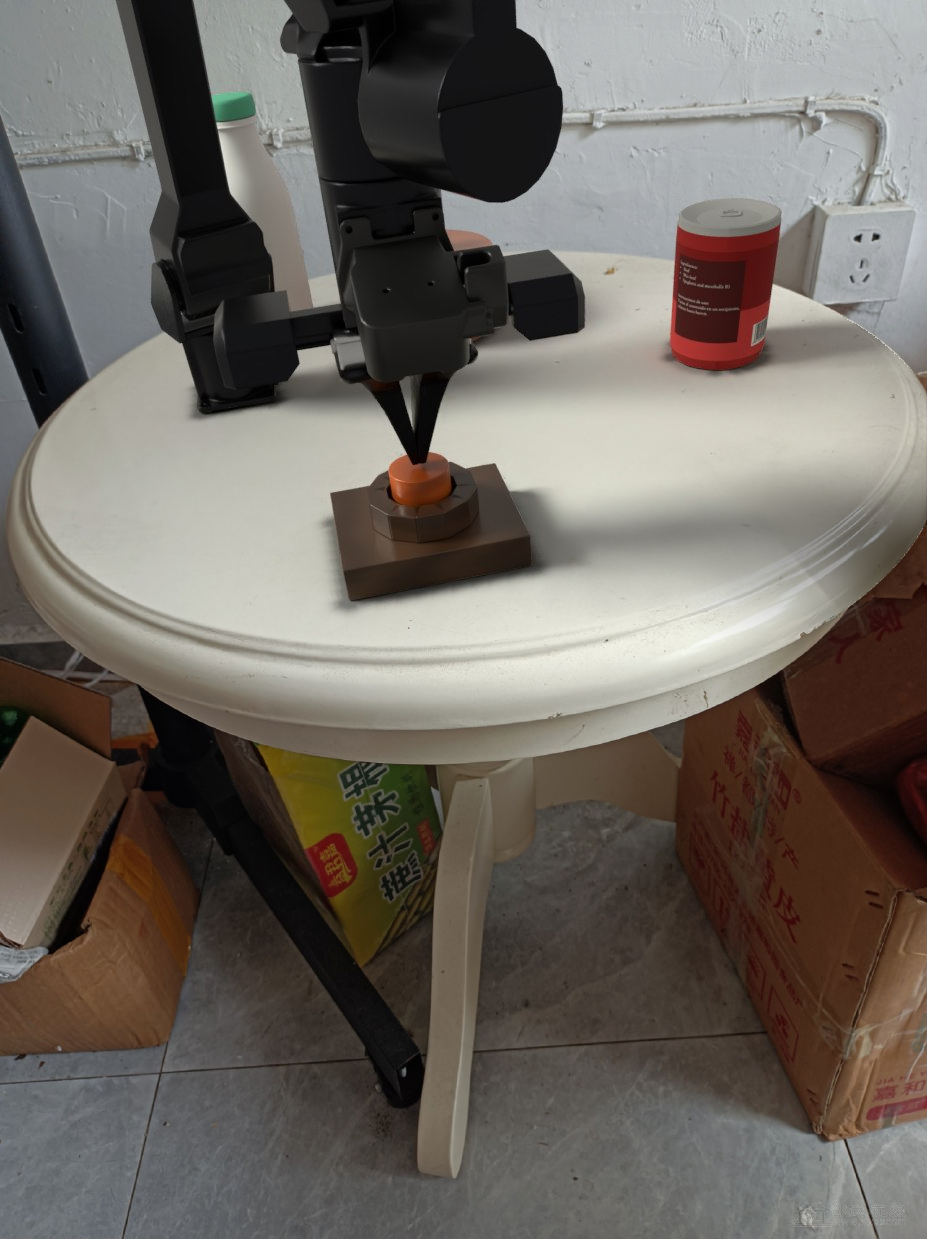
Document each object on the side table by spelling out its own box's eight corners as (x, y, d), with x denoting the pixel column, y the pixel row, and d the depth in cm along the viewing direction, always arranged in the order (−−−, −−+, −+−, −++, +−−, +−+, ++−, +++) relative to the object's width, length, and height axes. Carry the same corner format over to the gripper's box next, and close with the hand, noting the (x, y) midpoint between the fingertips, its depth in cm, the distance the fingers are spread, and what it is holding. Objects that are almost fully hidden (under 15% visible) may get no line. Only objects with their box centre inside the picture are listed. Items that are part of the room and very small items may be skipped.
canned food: (747, 329, 75) (764, 193, 68) (776, 366, 69) (798, 221, 62) (659, 338, 75) (667, 203, 69) (680, 376, 69) (691, 232, 62)
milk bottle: (324, 329, 84) (278, 93, 72) (246, 347, 83) (185, 108, 70) (306, 306, 90) (260, 83, 77) (233, 322, 88) (174, 97, 76)
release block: (349, 601, 50) (336, 544, 48) (335, 520, 57) (324, 467, 54) (532, 565, 51) (529, 508, 49) (497, 491, 58) (493, 437, 56)
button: (396, 512, 50) (392, 486, 49) (388, 482, 53) (384, 457, 52) (457, 501, 51) (454, 475, 49) (445, 472, 53) (442, 447, 52)
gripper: (167, 244, 33) (261, 569, 43) (627, 176, 35) (617, 502, 45) (181, 182, 42) (257, 464, 52) (551, 129, 44) (556, 412, 54)
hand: (418, 461), depth 50 cm, fingers closed
